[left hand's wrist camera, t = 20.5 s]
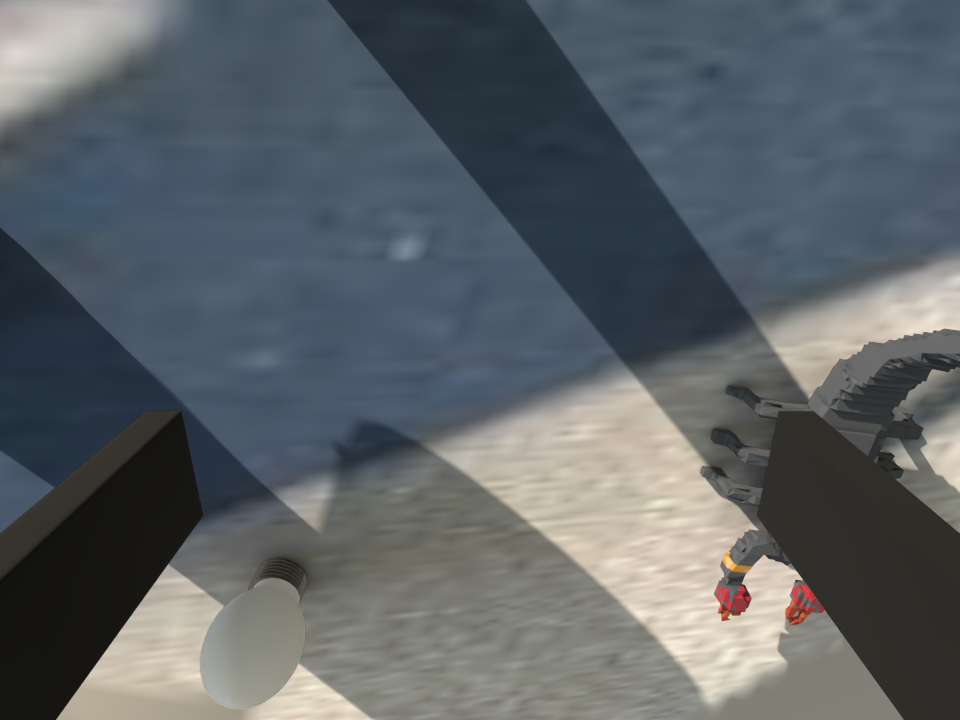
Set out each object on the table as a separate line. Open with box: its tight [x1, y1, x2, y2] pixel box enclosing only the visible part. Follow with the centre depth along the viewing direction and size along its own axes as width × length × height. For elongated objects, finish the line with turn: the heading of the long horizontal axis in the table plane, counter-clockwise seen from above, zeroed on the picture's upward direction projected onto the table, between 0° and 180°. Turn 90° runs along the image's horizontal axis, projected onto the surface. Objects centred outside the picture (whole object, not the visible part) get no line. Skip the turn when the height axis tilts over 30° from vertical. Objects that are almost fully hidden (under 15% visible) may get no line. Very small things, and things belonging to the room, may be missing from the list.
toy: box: [700, 329, 960, 625], centre depth 35 cm, size 13×27×18 cm, turn 172°
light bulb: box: [200, 559, 307, 709], centre depth 42 cm, size 7×7×11 cm
